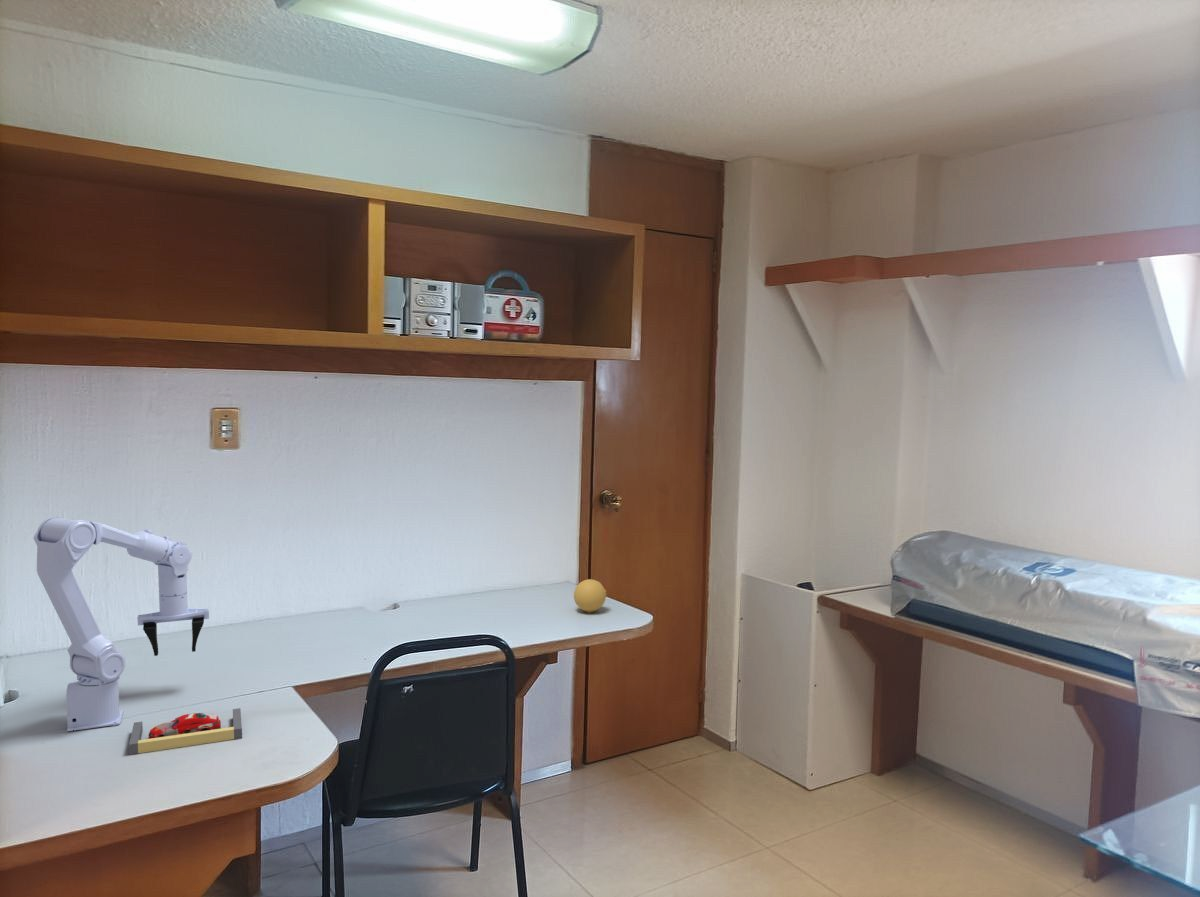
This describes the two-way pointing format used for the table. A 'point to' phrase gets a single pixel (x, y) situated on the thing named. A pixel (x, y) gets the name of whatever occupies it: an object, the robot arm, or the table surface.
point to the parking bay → (184, 737)
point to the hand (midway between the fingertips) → (175, 652)
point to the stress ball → (589, 595)
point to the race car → (186, 725)
